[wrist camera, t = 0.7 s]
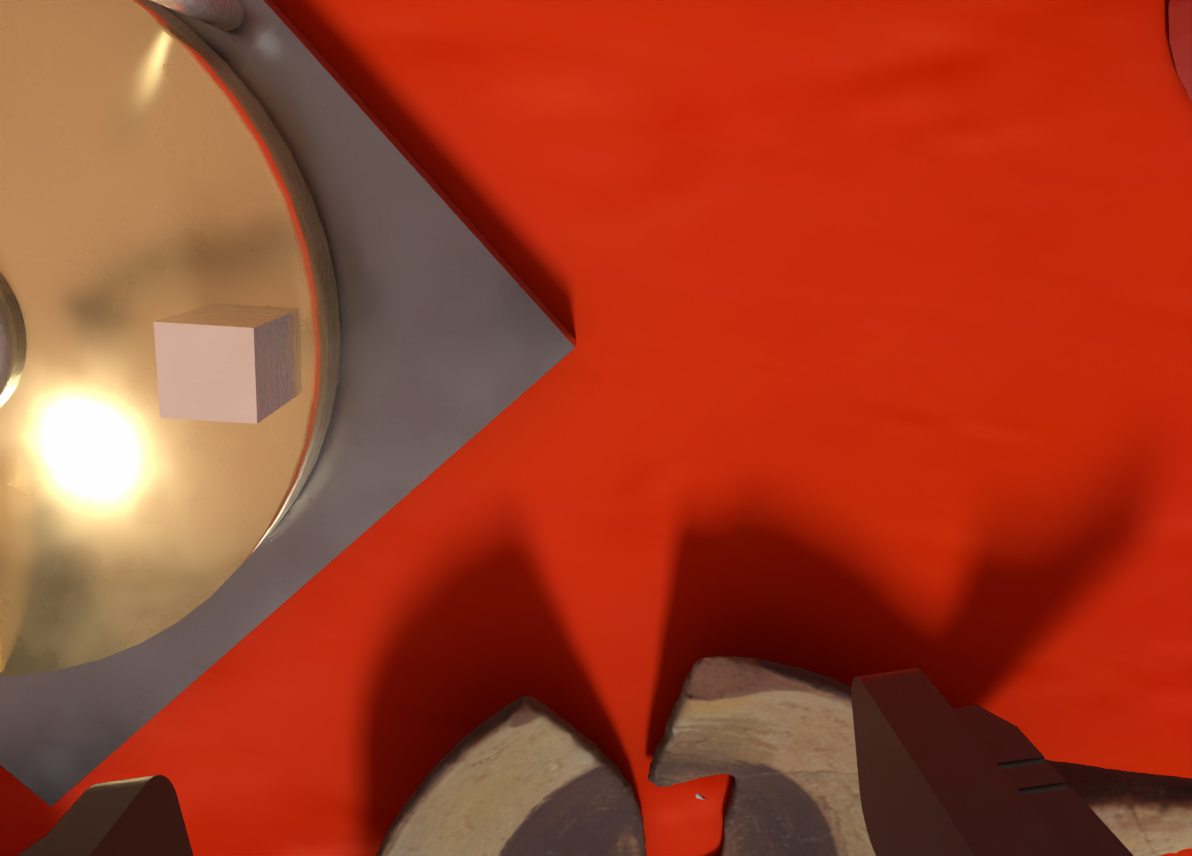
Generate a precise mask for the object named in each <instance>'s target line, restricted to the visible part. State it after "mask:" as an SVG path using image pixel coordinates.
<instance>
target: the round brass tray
mask: <svg viewBox="0 0 1192 856" xmlns="http://www.w3.org/2000/svg"><path fill="white" fill-rule="evenodd" d="M340 340H341V331H340V318H339V305H338V292H337V285H336V280H335V276H334V271H333V266H332V261H331V256H330V252H329V247H328V242H327V239H326V236H325V233H324V230H323V227H322V224H321V222H320V219H319V216H318V213H317V210H316V207H315V204H314V201H313V198H312V195H311V193H310V191H309V189H308V187H307V185H306V183H305V181H304V179H303V177H302V175H301V172H300V170H299V168H298V166H297V164H296V162H295V160H294V158H293V156H292V154H291V152H290V150H289V148H288V146H287V145H286V143H285V142H284V140H283V139H282V137H281V136H280V134H279V132H278V131H277V129H276V128H275V126H274V125H273V123H272V121H271V120H270V118H269V117H268V115H267V114H266V112H265V111H264V109H263V107H262V106H261V104H260V103H259V102H258V101H257V100H256V98H255V97H254V96H253V95H252V93H251V92H250V91H249V90H248V89H247V87H246V86H245V85H244V84H243V82H242V81H241V80H240V79H239V78H238V76H237V75H236V74H235V73H234V72H233V70H232V69H231V68H230V67H229V65H228V64H227V63H226V62H225V61H224V60H223V59H222V58H221V57H220V56H219V55H218V54H217V53H216V52H214V51H213V50H212V49H211V48H210V47H209V46H208V45H207V44H206V43H205V42H204V41H203V40H202V39H201V38H200V37H199V36H198V35H197V34H196V33H195V32H194V31H193V30H192V29H191V28H190V27H189V26H187V25H186V24H185V23H183V22H182V21H181V20H179V19H178V18H177V17H175V16H174V15H173V14H172V13H170V12H169V11H168V10H166V9H165V8H164V7H162V6H161V5H160V4H158V3H155V2H153V1H151V0H0V676H17V675H25V674H33V673H41V672H50V671H57V670H61V669H65V668H69V667H73V666H77V665H81V664H85V663H89V662H93V661H97V660H100V659H103V658H105V657H108V656H110V655H113V654H115V653H118V652H120V651H123V650H125V649H128V648H130V647H133V646H135V645H138V644H140V643H142V642H144V641H145V640H147V639H149V638H151V637H152V636H154V635H156V634H158V633H159V632H161V631H163V630H165V629H167V628H168V627H170V626H172V625H174V624H175V623H177V622H178V621H180V620H181V619H182V618H184V617H185V616H186V615H187V614H189V613H190V612H191V611H193V610H194V609H195V608H196V607H198V606H199V605H200V604H202V603H203V602H204V601H205V600H207V599H208V598H209V597H211V596H212V595H213V594H214V593H215V591H216V590H217V589H218V588H219V587H220V586H221V585H222V584H223V583H224V582H225V581H226V580H227V579H228V578H229V577H230V576H231V575H232V574H233V573H234V572H235V571H236V570H237V569H238V568H239V567H240V566H241V564H242V563H243V562H244V561H245V560H246V559H247V558H248V557H249V556H250V555H251V554H252V553H253V552H254V551H255V549H256V548H257V547H258V546H259V545H260V544H261V543H262V542H263V541H264V540H265V539H266V538H267V537H268V536H269V534H270V533H271V532H272V531H273V530H274V529H275V528H276V526H277V525H278V524H279V522H280V521H281V519H282V518H283V517H284V515H285V514H286V513H287V511H288V510H289V508H290V507H291V506H292V504H293V503H294V501H295V500H296V499H297V497H298V496H299V494H300V492H301V490H302V488H303V486H304V484H305V482H306V480H307V478H308V476H309V474H310V472H311V470H312V468H313V466H314V464H315V463H316V461H317V458H318V455H319V452H320V449H321V446H322V443H323V440H324V437H325V435H326V432H327V429H328V426H329V423H330V419H331V414H332V409H333V404H334V399H335V394H336V388H337V383H338V376H339V358H340Z"/></svg>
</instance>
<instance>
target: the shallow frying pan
mask: <svg viewBox="0 0 1192 856" xmlns="http://www.w3.org/2000/svg"><path fill="white" fill-rule="evenodd" d="M1045 762H1046V763H1050V764H1051V765H1052V766H1053V767H1054V768H1055V769H1056V770H1057V772H1058V773H1059V774H1060V775H1061V776H1062V777H1063V778H1064V779H1065V780H1066V781H1067V785H1068V788H1069V789H1071V788H1073V789H1074V790H1075V791H1076V792H1077V794H1078V795H1079V796H1080V797H1081V798H1082V799H1083V800H1084V801H1085V802H1086V804H1087V805H1088V806H1089V807H1090V808H1091V809H1092V810H1093V811H1094V812H1095V813H1096V815H1097V816H1098V817H1099V818H1100V819H1101V820H1102V821H1103V822H1104V823H1105V825H1106V826H1107V827H1108V828H1109V829H1110V830H1111V831H1112V832H1113V833H1114V834H1115V836H1116V837H1117V838H1118V839H1119V840H1120V841H1121V842H1122V843H1123V844H1124V845H1125V847H1126V848H1127V849H1128V850H1129V851H1130V852H1131V853H1132V854H1133V855H1134V856H1159V855H1163V854H1166V853H1177V852H1179V851H1181V850H1184V849H1189V848H1192V779H1190V778H1181V777H1175V776H1163V775H1154V774H1146V773H1137V772H1128V771H1121V770H1113V769H1104V768H1099V767H1094V766H1086V765H1080V764H1074V763H1066V762H1055V761H1050V760H1045ZM716 774H729V775H732V776H733V777H734V778H735V782H734V783H733V785H732V788H731V795H730V800H729V802H728V804H727V805H728V807H727V811H726V814H725V816H724V840H723V847H722V850H721V853H720V855H719V856H876V855H875V852H874V850H873V847H872V845H871V842H870V839H869V835H868V832H867V828H866V825H865V820H864V816H863V811H862V806H861V799H860V790H859V779H858V768H857V756H856V745H855V734H854V722H853V711H852V700H851V686H849V685H846V684H844V683H842V682H839V681H837V680H834V679H832V678H829V677H827V676H824V675H821V674H818V673H815V672H811V671H808V670H805V669H802V668H799V667H795V666H790V665H787V664H782V663H778V662H773V661H768V660H763V659H759V658H749V657H736V656H731V657H726V656H712V657H704V658H702V659H699V660H697V661H696V662H695V663H694V664H693V666H692V669H691V671H690V673H689V674H688V675H687V677H686V678H685V680H684V683H683V685H682V687H681V694H680V695H679V697H678V698H677V701H676V702H675V704H674V705H673V706H672V709H671V715H670V717H669V719H668V720H666V724H665V731H664V735H663V737H662V738H661V740H660V742H659V743H658V744H656V748H655V752H654V755H653V760H652V762H651V763H650V769H649V775H648V780H649V781H650V782H652V783H654V784H655V785H656V786H658V787H662V786H668V787H669V786H671V785H673V784H676V783H681V782H687V781H689V780H692V779H696V778H701V777H705V776H711V775H716ZM696 798H700V799H703V800H705V799H704V798H702V797H701V796H700V795H699V793H697V794H696ZM706 801H707V800H706ZM376 856H646V850H645V838H644V830H643V818H642V815H641V813H640V805H639V804H638V803H637V802H636V799H635V795H634V792H633V787H632V786H631V783H630V782H629V781H628V780H626V779H625V778H624V777H623V774H622V772H621V771H620V769H619V767H618V766H617V765H616V764H615V763H614V762H612V761H611V760H610V759H609V757H606V756H604V755H603V754H602V752H601V749H600V748H598V747H597V745H596V744H595V743H594V742H593V741H591V740H590V739H588V738H587V737H585V736H584V735H582V734H581V732H577V730H576V728H575V727H574V726H571V724H570V723H569V722H568V721H567V720H565V719H563V718H561V717H560V716H559V715H557V714H556V713H555V711H553V710H550V709H549V708H548V707H547V705H546V704H543V703H541V702H540V701H538V700H537V699H535V698H534V697H531V696H527V695H523V696H521V697H520V698H518V699H517V700H515V701H513V702H511V703H509V704H508V705H506V706H505V707H504V708H502V709H500V710H499V711H498V712H497V713H495V714H494V715H492V716H490V717H489V718H488V719H487V720H486V721H484V722H482V723H481V724H480V725H479V726H478V727H476V728H475V729H474V730H473V731H471V732H470V733H469V734H467V735H466V736H464V737H463V738H462V739H461V740H460V741H459V742H458V743H457V744H456V745H455V746H454V747H453V748H452V749H451V751H450V752H449V753H448V754H447V755H445V756H444V757H443V758H442V759H441V760H440V761H439V763H438V764H437V765H436V766H435V767H434V768H433V769H432V770H431V772H430V773H429V774H428V775H427V776H426V778H425V779H424V780H423V781H422V783H421V784H420V785H419V787H418V788H417V789H416V791H415V792H414V793H413V794H412V795H411V796H410V798H409V799H408V801H407V802H406V803H405V805H404V806H403V808H402V809H401V811H400V812H399V814H398V815H397V817H396V818H395V819H394V821H393V822H392V824H391V826H390V828H389V830H388V832H387V833H386V835H385V838H384V840H383V842H382V844H381V846H380V848H379V851H378V853H377V854H376Z"/></svg>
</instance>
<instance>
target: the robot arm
mask: <svg viewBox="0 0 1192 856" xmlns="http://www.w3.org/2000/svg"><path fill="white" fill-rule="evenodd" d="M1168 12H1169V42H1170V46H1171V50H1172V55H1173V59H1174V63H1175V67H1176V71H1177V74H1178V76H1179V78H1180V80H1181V82H1182V84H1183V86H1184V88H1185V90H1186V92H1187V94H1188V96H1189V98H1190V100H1191V101H1192V0H1170V1H1169V7H1168ZM851 700H852V711H853V722H854V734H855V745H856V756H857V768H858V779H859V790H860V799H861V806H862V811H863V816H864V820H865V825H866V828H867V832H868V835H869V839H870V842H871V845H872V847H873V850H874V852H875V855H876V856H1134V855H1133V854H1132V853H1131V852H1130V851H1129V850H1128V849H1127V848H1126V847H1125V845H1124V844H1123V843H1122V842H1121V841H1120V840H1119V839H1118V838H1117V837H1116V836H1115V834H1114V833H1113V832H1112V831H1111V830H1110V829H1109V828H1108V827H1107V826H1106V825H1105V823H1104V822H1103V821H1102V820H1101V819H1100V818H1099V817H1098V816H1097V815H1096V813H1095V812H1094V811H1093V810H1092V809H1091V808H1090V807H1089V806H1088V805H1087V804H1086V802H1085V801H1084V800H1083V799H1082V798H1081V797H1080V796H1079V795H1078V794H1077V792H1076V791H1075V790H1074V789H1073V788H1071V789H1069V788H1068V785H1067V781H1066V780H1065V779H1064V778H1063V777H1062V776H1061V775H1060V774H1059V773H1058V772H1057V770H1056V769H1055V768H1054V767H1053V766H1052V765H1051V764H1050V763H1046V762H1045V759H1044V756H1043V755H1042V754H1041V753H1040V752H1039V751H1038V749H1037V748H1036V747H1035V746H1034V745H1033V744H1032V743H1031V742H1030V741H1029V739H1028V738H1027V737H1026V736H1025V735H1024V734H1023V733H1022V732H1021V731H1020V730H1019V728H1018V727H1016V726H1014V725H1013V724H1011V723H1009V722H1007V721H1005V720H1003V719H1002V718H1000V717H998V716H996V715H994V714H992V713H991V712H989V711H987V710H985V709H983V708H981V707H980V706H978V705H971V706H964V707H957V708H952V707H951V706H950V704H949V703H948V702H947V701H946V699H945V698H944V697H943V696H942V694H941V693H940V692H939V691H938V689H937V688H936V687H935V686H934V684H933V683H932V682H931V681H930V680H929V678H928V677H927V676H926V675H925V673H924V672H923V671H922V670H921V669H919V668H911V669H905V670H898V671H891V672H884V673H877V674H870V675H863V676H856V677H854V678H853V680H852V684H851ZM18 856H193V853H192V849H191V846H190V842H189V838H188V835H187V831H186V827H185V824H184V820H183V816H182V813H181V809H180V805H179V802H178V798H177V795H176V792H175V789H174V787H173V785H172V783H171V782H170V780H169V779H167V778H166V777H165V776H162V775H155V776H148V777H141V778H134V779H127V780H120V781H113V782H106V783H99V784H95V785H92V786H91V787H89V788H88V789H87V790H86V791H85V792H84V793H83V794H82V795H81V796H80V797H79V799H78V800H77V801H76V802H75V803H74V804H73V805H72V807H71V808H70V809H69V810H68V811H67V812H66V813H65V815H64V816H63V817H62V818H61V819H60V820H59V821H58V823H57V824H56V825H55V826H54V827H53V828H52V830H51V831H50V832H49V833H48V834H47V835H46V836H44V837H42V838H41V839H40V840H38V841H37V842H35V843H34V844H33V845H31V846H30V847H29V848H27V849H26V850H25V851H23V852H22V853H21V854H19V855H18Z"/></svg>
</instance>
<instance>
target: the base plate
mask: <svg viewBox="0 0 1192 856" xmlns="http://www.w3.org/2000/svg"><path fill="white" fill-rule="evenodd" d="M151 1H153V2H155V3H158V4H160V5H161V6H162V7H164V8H165V9H166V10H168V11H169V12H170V13H172V14H173V15H174V16H175V17H177V18H178V19H179V20H181V21H182V22H183V23H185V24H186V25H187V26H189V27H190V28H191V29H192V30H193V31H194V32H195V33H196V34H197V35H198V36H199V37H200V38H201V39H202V40H203V41H204V42H205V43H206V44H207V45H208V46H209V47H210V48H211V49H212V50H213V51H214V52H216V53H217V54H218V55H219V56H220V57H221V58H222V59H223V60H224V61H225V62H226V63H227V64H228V65H229V67H230V68H231V69H232V70H233V72H234V73H235V74H236V75H237V76H238V78H239V79H240V80H241V81H242V82H243V84H244V85H245V86H246V87H247V89H248V90H249V91H250V92H251V93H252V95H253V96H254V97H255V98H256V100H257V101H258V102H259V103H260V104H261V106H262V107H263V109H264V111H265V112H266V114H267V115H268V117H269V118H270V120H271V121H272V123H273V125H274V126H275V128H276V129H277V131H278V132H279V134H280V136H281V137H282V139H283V140H284V142H285V143H286V145H287V146H288V148H289V150H290V152H291V154H292V156H293V158H294V160H295V162H296V164H297V166H298V168H299V170H300V172H301V175H302V177H303V179H304V181H305V183H306V185H307V187H308V189H309V191H310V193H311V195H312V198H313V201H314V204H315V207H316V210H317V213H318V216H319V219H320V222H321V224H322V227H323V230H324V233H325V236H326V239H327V242H328V247H329V252H330V256H331V261H332V266H333V271H334V276H335V280H336V285H337V292H338V305H339V318H340V331H341V340H340V358H339V376H338V383H337V388H336V394H335V399H334V404H333V409H332V414H331V419H330V423H329V426H328V429H327V432H326V435H325V437H324V440H323V443H322V446H321V449H320V452H319V455H318V458H317V461H316V463H315V464H314V466H313V468H312V470H311V472H310V474H309V476H308V478H307V480H306V482H305V484H304V486H303V488H302V490H301V492H300V494H299V496H298V497H297V499H296V500H295V501H294V503H293V504H292V506H291V507H290V508H289V510H288V511H287V513H286V514H285V515H284V517H283V518H282V519H281V521H280V522H279V524H278V525H277V526H276V528H275V529H274V530H273V531H272V532H271V533H270V534H269V536H268V537H267V538H266V539H265V540H264V541H263V542H262V543H261V544H260V545H259V546H258V547H257V548H256V549H255V551H254V552H253V553H252V554H251V555H250V556H249V557H248V558H247V559H246V560H245V561H244V562H243V563H242V564H241V566H240V567H239V568H238V569H237V570H236V571H235V572H234V573H233V574H232V575H231V576H230V577H229V578H228V579H227V580H226V581H225V582H224V583H223V584H222V585H221V586H220V587H219V588H218V589H217V590H216V591H215V593H214V594H213V595H212V596H211V597H209V598H208V599H207V600H205V601H204V602H203V603H202V604H200V605H199V606H198V607H196V608H195V609H194V610H193V611H191V612H190V613H189V614H187V615H186V616H185V617H184V618H182V619H181V620H180V621H178V622H177V623H175V624H174V625H172V626H170V627H168V628H167V629H165V630H163V631H161V632H159V633H158V634H156V635H154V636H152V637H151V638H149V639H147V640H145V641H144V642H142V643H140V644H138V645H135V646H133V647H130V648H128V649H125V650H123V651H120V652H118V653H115V654H113V655H110V656H108V657H105V658H103V659H100V660H97V661H93V662H89V663H85V664H81V665H77V666H73V667H69V668H65V669H61V670H57V671H50V672H41V673H33V674H25V675H17V676H0V765H1V766H2V767H3V768H4V769H6V770H7V771H8V772H9V773H10V774H12V775H13V776H14V777H15V778H17V779H18V780H19V781H20V782H21V783H23V784H24V785H25V786H26V787H27V788H29V789H30V790H31V791H32V792H34V793H35V794H36V795H37V796H38V797H40V798H41V799H42V800H43V801H45V802H46V803H47V804H48V805H49V806H52V805H53V804H54V803H55V802H57V801H58V800H59V799H60V798H61V797H62V796H63V795H65V794H66V793H67V792H68V791H69V790H70V789H71V788H73V787H74V786H75V785H76V784H77V783H78V782H79V781H81V780H82V779H83V778H84V777H85V776H86V775H87V774H89V773H90V772H91V771H92V770H93V769H94V768H95V767H97V766H98V765H99V764H100V763H101V762H102V761H103V760H105V759H106V758H107V757H108V756H109V755H110V754H111V753H113V752H114V751H115V750H116V749H117V748H118V747H119V746H121V745H122V744H123V743H124V742H125V741H126V740H127V739H129V738H130V737H131V736H132V735H133V734H134V733H135V732H137V731H138V730H139V729H140V728H141V727H142V726H143V725H145V724H146V723H147V722H148V721H149V720H150V719H151V718H153V717H154V716H155V715H156V714H157V713H158V712H159V711H161V710H162V709H163V708H164V707H165V706H166V705H167V704H169V703H170V702H171V701H172V700H173V699H174V698H175V697H177V696H178V695H179V694H180V693H181V692H182V691H183V690H185V689H186V688H187V687H188V686H189V685H190V684H191V683H192V682H194V681H195V680H196V679H197V678H198V677H199V676H200V675H202V674H203V673H204V672H205V671H206V670H207V669H208V668H210V667H211V666H212V665H213V664H214V663H215V662H216V661H218V660H219V659H220V658H221V657H222V656H223V655H224V654H226V653H227V652H228V651H229V650H230V649H231V648H232V647H234V646H235V645H236V644H237V643H238V642H239V641H240V640H242V639H243V638H244V637H245V636H246V635H247V634H248V633H250V632H251V631H252V630H253V629H254V628H255V627H256V626H258V625H259V624H260V623H261V622H262V621H263V620H264V619H266V618H267V617H268V616H269V615H270V614H271V613H272V612H274V611H275V610H276V609H277V608H278V607H279V606H280V605H282V604H283V603H284V602H285V601H286V600H287V599H288V598H290V597H291V596H292V595H293V594H294V593H295V592H296V591H298V590H299V589H300V588H301V587H302V586H303V585H304V584H306V583H307V582H308V581H309V580H310V579H311V578H312V577H314V576H315V575H316V574H317V573H318V572H319V571H320V570H322V569H323V568H324V567H325V566H326V565H327V564H328V563H329V562H331V561H332V560H333V559H334V558H335V557H336V556H337V555H339V554H340V553H341V552H342V551H343V550H344V549H345V548H347V547H348V546H349V545H350V544H351V543H352V542H353V541H355V540H356V539H357V538H358V537H359V536H360V535H361V534H363V533H364V532H365V531H366V530H367V529H368V528H369V527H371V526H372V525H373V524H374V523H375V522H376V521H377V520H379V519H380V518H381V517H382V516H383V515H384V514H385V513H387V512H388V511H389V510H390V509H391V508H392V507H393V506H395V505H396V504H397V503H398V502H399V501H400V500H401V499H403V498H404V497H405V496H406V495H407V494H408V493H409V492H411V491H412V490H413V489H414V488H415V487H416V486H417V485H419V484H420V483H421V482H422V481H423V480H424V479H425V478H427V477H428V476H429V475H430V474H431V473H432V472H433V471H435V470H436V469H437V468H438V467H439V466H440V465H441V464H443V463H444V462H445V461H446V460H447V459H448V458H449V457H451V456H452V455H453V454H454V453H455V452H456V451H457V450H459V449H460V448H461V447H462V446H463V445H464V444H465V443H466V442H468V441H469V440H470V439H471V438H472V437H473V436H474V435H476V434H477V433H478V432H479V431H480V430H481V429H482V428H484V427H485V426H486V425H487V424H488V423H489V422H490V421H492V420H493V419H494V418H495V417H496V416H497V415H498V414H500V413H501V412H502V411H503V410H504V409H505V408H506V407H508V406H509V405H510V404H511V403H512V402H513V401H514V400H516V399H517V398H518V397H519V396H520V395H521V394H522V393H524V392H525V391H526V390H527V389H528V388H529V387H530V386H532V385H533V384H534V383H535V382H536V381H537V380H538V379H540V378H541V377H542V376H543V375H544V374H545V373H546V372H548V371H549V370H550V369H551V368H552V367H553V366H554V365H556V364H557V363H558V362H559V361H560V360H561V359H562V358H564V357H565V356H566V355H567V354H568V353H569V352H570V351H572V350H573V349H574V348H575V344H576V339H575V338H574V337H573V336H572V335H571V333H570V332H569V331H568V330H567V329H566V328H565V327H564V326H563V324H562V323H561V322H560V321H559V320H558V319H557V318H556V317H555V316H554V314H553V313H552V312H551V311H550V310H549V309H548V308H547V307H546V305H545V304H544V303H543V302H542V301H541V300H540V299H539V298H538V297H537V295H536V294H535V293H534V292H533V291H532V290H531V289H530V288H529V286H528V285H527V284H526V283H525V282H524V281H523V280H522V279H521V278H520V276H519V275H518V274H517V273H516V272H515V271H514V270H513V269H512V267H511V266H510V265H509V264H508V263H507V262H506V261H505V260H504V259H503V257H502V256H501V255H500V254H499V253H498V252H497V251H496V250H495V249H494V247H493V246H492V245H491V244H490V243H489V242H488V241H487V240H486V238H485V237H484V236H483V235H482V234H481V233H480V232H479V231H478V230H477V228H476V227H475V226H474V225H473V224H472V223H471V222H470V221H469V219H468V218H467V217H466V216H465V215H464V214H463V213H462V212H461V211H460V209H459V208H458V207H457V206H456V205H455V204H454V203H453V202H452V200H451V199H450V198H449V197H448V196H447V195H446V194H445V193H444V192H443V190H442V189H441V188H440V187H439V186H438V185H437V184H436V183H435V181H434V180H433V179H432V178H431V177H430V176H429V175H428V174H427V173H426V171H425V170H424V169H423V168H422V167H421V166H420V165H419V164H418V162H417V161H416V160H415V159H414V158H413V157H412V156H411V155H410V154H409V152H408V151H407V150H406V149H405V148H404V147H403V146H402V145H401V144H400V142H399V141H398V140H397V139H396V138H395V137H394V136H393V135H392V133H391V132H390V131H389V130H388V129H387V128H386V127H385V126H384V125H383V123H382V122H381V121H380V120H379V119H378V118H377V117H376V116H375V114H374V113H373V112H372V111H371V110H370V109H369V108H368V107H367V106H366V104H365V103H364V102H363V101H362V100H361V99H360V98H359V97H358V95H357V94H356V93H355V92H354V91H353V90H352V89H351V88H350V87H349V85H348V84H347V83H346V82H345V81H344V80H343V79H342V78H341V76H340V75H339V74H338V73H337V72H336V71H335V70H334V69H333V68H332V66H331V65H330V64H329V63H328V62H327V61H326V60H325V59H324V57H323V56H322V55H321V54H320V53H319V52H318V51H317V50H316V49H315V47H314V46H313V45H312V44H311V43H310V42H309V41H308V40H307V39H306V37H305V36H304V35H303V34H302V33H301V32H300V31H299V30H298V28H297V27H296V26H295V25H294V24H293V23H292V22H291V21H290V20H289V18H288V17H287V16H286V15H285V14H284V13H283V12H282V11H281V9H280V8H279V7H278V6H277V5H276V4H275V3H274V2H273V1H272V0H151Z"/></svg>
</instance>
